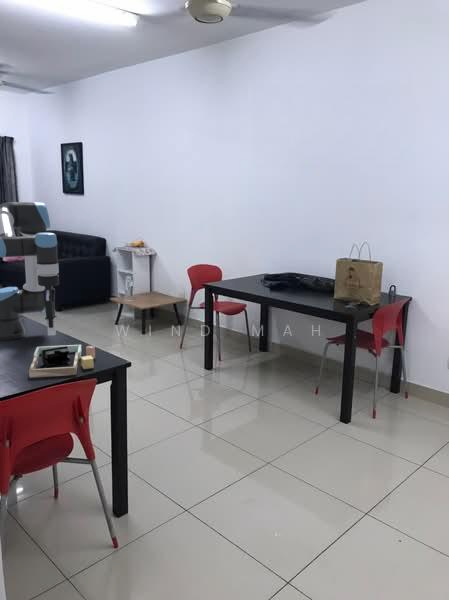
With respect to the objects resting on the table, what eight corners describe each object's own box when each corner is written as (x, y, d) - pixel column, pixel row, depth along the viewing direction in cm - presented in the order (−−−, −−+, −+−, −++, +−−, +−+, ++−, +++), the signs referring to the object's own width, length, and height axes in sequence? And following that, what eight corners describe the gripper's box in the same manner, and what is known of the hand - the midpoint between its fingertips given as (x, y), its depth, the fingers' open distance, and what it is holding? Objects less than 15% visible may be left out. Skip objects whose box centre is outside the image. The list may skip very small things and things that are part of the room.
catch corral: (37, 353, 207) (36, 346, 206) (81, 350, 211) (81, 344, 211) (33, 361, 197) (33, 355, 196) (80, 359, 201) (80, 352, 201)
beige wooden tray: (35, 361, 197) (35, 354, 196) (78, 359, 201) (78, 352, 201) (29, 377, 181) (28, 370, 180) (76, 374, 185) (75, 367, 184)
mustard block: (81, 366, 194) (81, 356, 193) (91, 364, 196) (90, 355, 195) (83, 369, 191) (83, 360, 190) (93, 367, 192) (93, 358, 192)
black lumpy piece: (66, 359, 201) (65, 344, 200) (71, 364, 195) (70, 348, 194) (41, 363, 195) (40, 348, 194) (46, 369, 190) (45, 353, 188)
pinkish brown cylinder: (86, 357, 204) (86, 345, 203) (95, 356, 205) (94, 345, 204) (86, 359, 201) (85, 348, 200) (95, 359, 202) (94, 348, 200)
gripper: (39, 271, 183) (43, 330, 188) (35, 277, 171) (39, 340, 176) (60, 271, 185) (63, 329, 190) (57, 277, 172) (60, 339, 178)
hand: (51, 334), depth 183 cm, fingers closed
